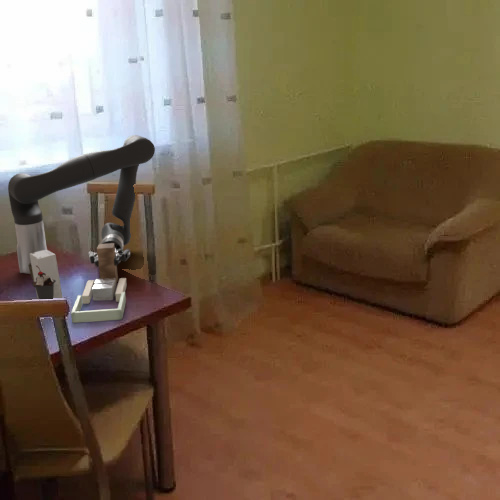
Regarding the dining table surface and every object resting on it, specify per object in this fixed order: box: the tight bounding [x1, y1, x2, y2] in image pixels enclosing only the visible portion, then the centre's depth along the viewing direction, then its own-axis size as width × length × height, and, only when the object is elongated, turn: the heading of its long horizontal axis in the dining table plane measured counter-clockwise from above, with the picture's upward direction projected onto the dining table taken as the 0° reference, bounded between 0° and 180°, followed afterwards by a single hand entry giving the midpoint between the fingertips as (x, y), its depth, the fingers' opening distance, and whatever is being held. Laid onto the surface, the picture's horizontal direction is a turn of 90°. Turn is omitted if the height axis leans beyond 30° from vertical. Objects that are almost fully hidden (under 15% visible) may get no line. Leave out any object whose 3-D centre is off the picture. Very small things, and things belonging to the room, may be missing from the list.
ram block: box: [96, 243, 119, 284], centre depth 246 cm, size 5×5×12 cm
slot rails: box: [81, 277, 128, 305], centre depth 236 cm, size 12×14×2 cm
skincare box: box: [30, 249, 64, 300], centre depth 232 cm, size 8×6×15 cm
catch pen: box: [70, 291, 127, 324], centre depth 222 cm, size 14×14×3 cm
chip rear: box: [94, 278, 117, 293], centre depth 238 cm, size 6×4×4 cm, turn 92°
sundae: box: [31, 265, 56, 300], centre depth 220 cm, size 7×7×15 cm
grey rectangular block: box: [92, 283, 116, 302], centre depth 233 cm, size 6×4×4 cm, turn 90°
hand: (106, 263), depth 243 cm, fingers closed on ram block, 5 cm apart
